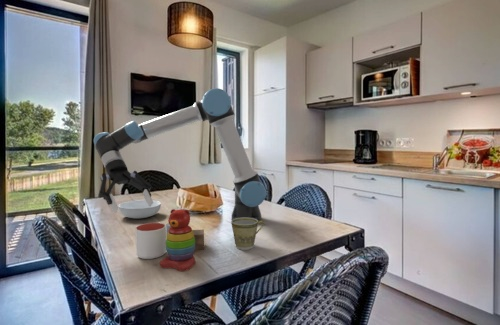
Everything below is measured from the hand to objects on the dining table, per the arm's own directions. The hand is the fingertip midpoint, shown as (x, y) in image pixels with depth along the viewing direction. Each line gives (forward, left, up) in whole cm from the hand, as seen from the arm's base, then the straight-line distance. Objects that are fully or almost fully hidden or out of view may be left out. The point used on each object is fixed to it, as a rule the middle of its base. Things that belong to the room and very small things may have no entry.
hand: (134, 207), depth 109 cm
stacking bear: (-22, +10, -15) cm, 29 cm away
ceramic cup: (-41, -9, -15) cm, 45 cm away
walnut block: (-22, -4, -15) cm, 27 cm away
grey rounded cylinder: (-11, -9, -15) cm, 21 cm away
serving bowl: (+23, -41, -15) cm, 49 cm away
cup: (-9, +5, -15) cm, 19 cm away
